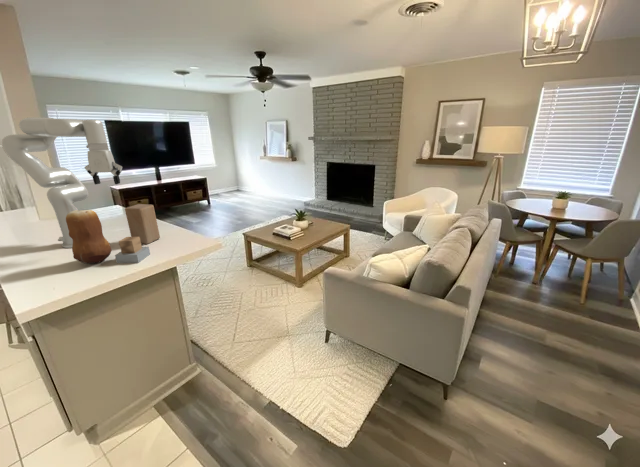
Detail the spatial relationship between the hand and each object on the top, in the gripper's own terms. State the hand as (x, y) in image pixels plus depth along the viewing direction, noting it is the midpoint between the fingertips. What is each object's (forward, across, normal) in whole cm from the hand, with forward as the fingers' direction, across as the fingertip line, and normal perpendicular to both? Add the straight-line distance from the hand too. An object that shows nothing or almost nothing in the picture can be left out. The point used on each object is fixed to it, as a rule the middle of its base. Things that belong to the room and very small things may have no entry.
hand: (107, 183), depth 141 cm
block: (+34, +8, +8) cm, 35 cm away
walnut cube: (+29, +15, -16) cm, 37 cm away
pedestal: (+33, +15, -16) cm, 40 cm away
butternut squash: (+34, -1, -19) cm, 39 cm away
